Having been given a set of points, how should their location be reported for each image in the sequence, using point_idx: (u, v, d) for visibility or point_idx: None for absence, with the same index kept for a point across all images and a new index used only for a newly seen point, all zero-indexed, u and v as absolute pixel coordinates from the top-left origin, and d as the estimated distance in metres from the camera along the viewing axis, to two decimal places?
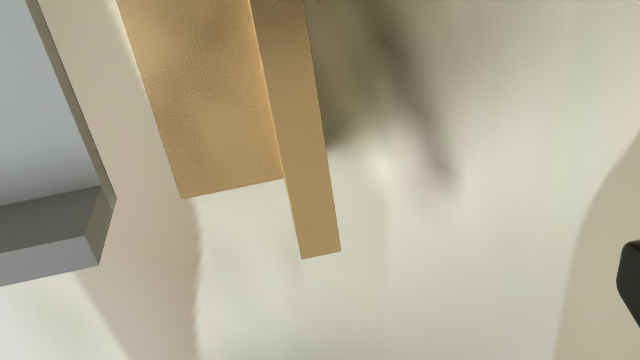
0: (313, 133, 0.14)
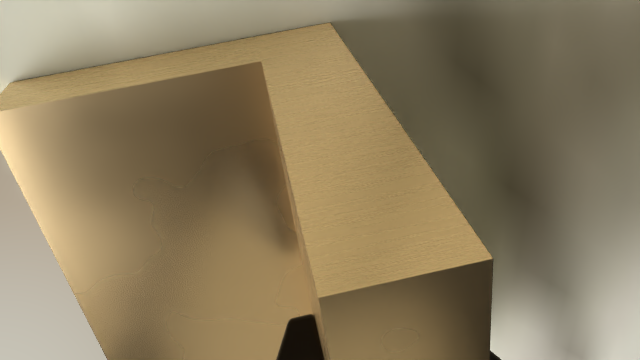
0: None
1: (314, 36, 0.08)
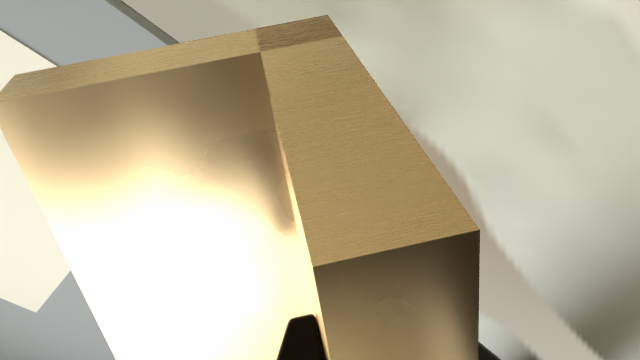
0: None
1: (312, 27, 0.08)
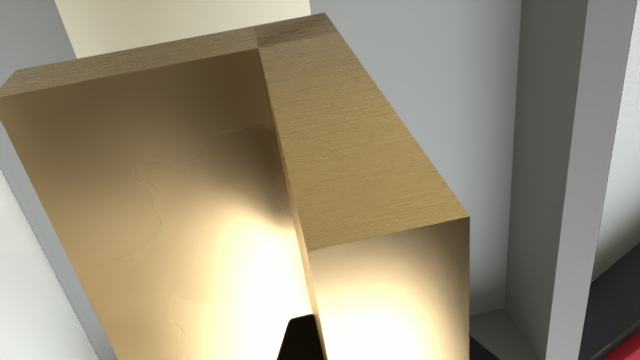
0: None
1: (309, 24, 0.09)
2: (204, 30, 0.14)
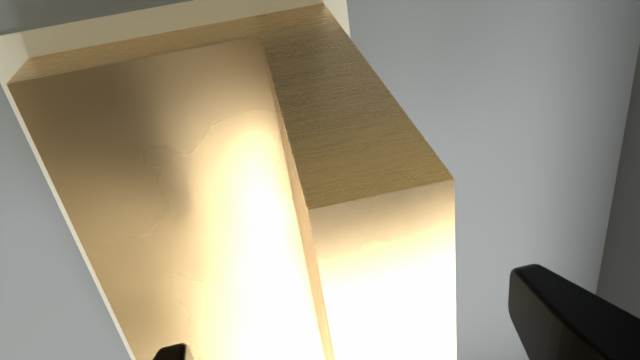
0: None
1: (309, 14, 0.09)
2: None
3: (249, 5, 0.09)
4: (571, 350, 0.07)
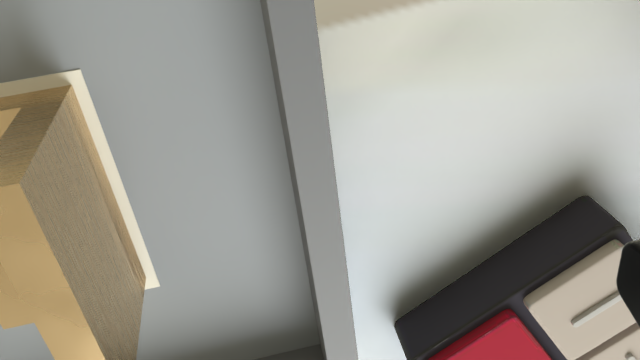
0: (72, 315, 0.14)
1: (57, 92, 0.17)
2: None
3: (27, 86, 0.17)
4: None
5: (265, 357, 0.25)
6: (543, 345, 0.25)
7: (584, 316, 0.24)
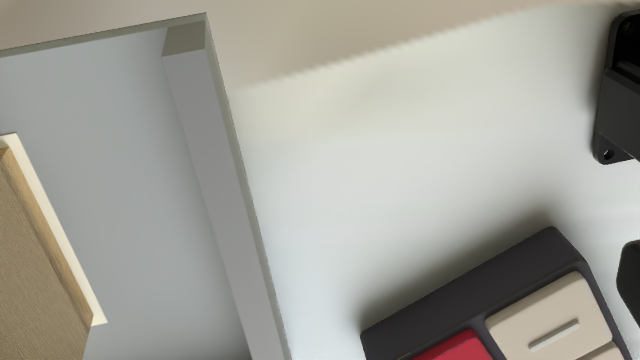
0: None
1: None
2: None
3: None
4: None
5: None
6: None
7: (541, 342, 0.25)
